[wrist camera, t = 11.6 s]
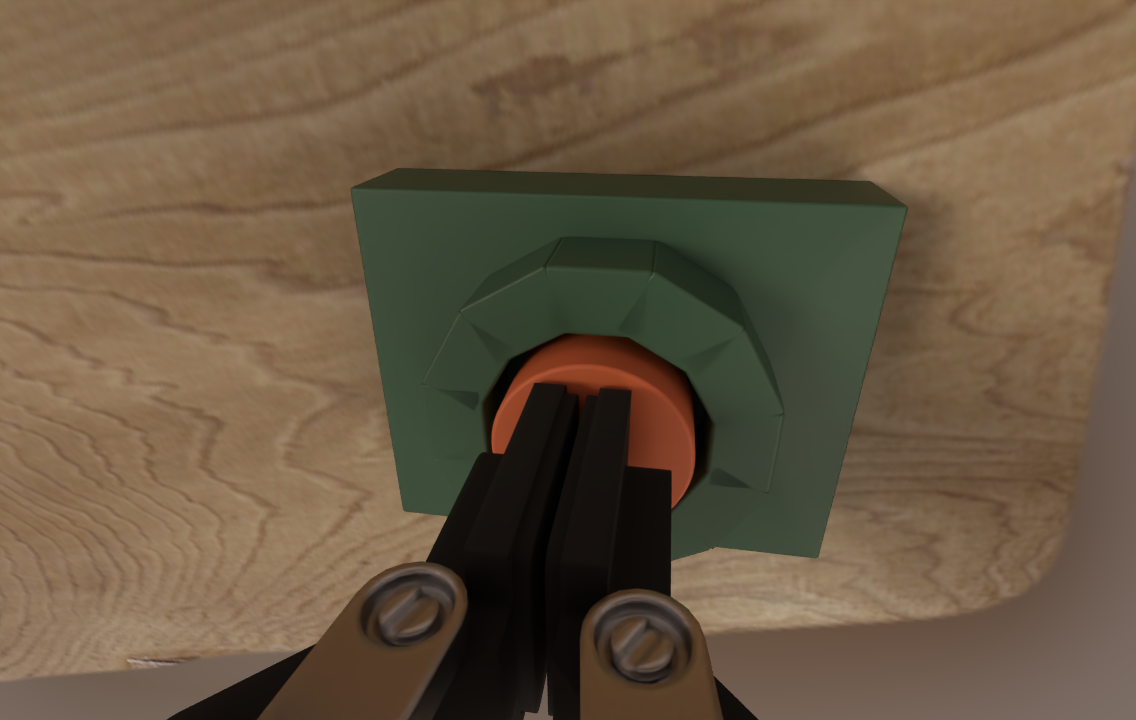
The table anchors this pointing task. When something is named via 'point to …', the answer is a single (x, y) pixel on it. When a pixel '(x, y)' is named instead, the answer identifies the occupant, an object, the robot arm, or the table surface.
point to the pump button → (614, 364)
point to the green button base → (636, 322)
